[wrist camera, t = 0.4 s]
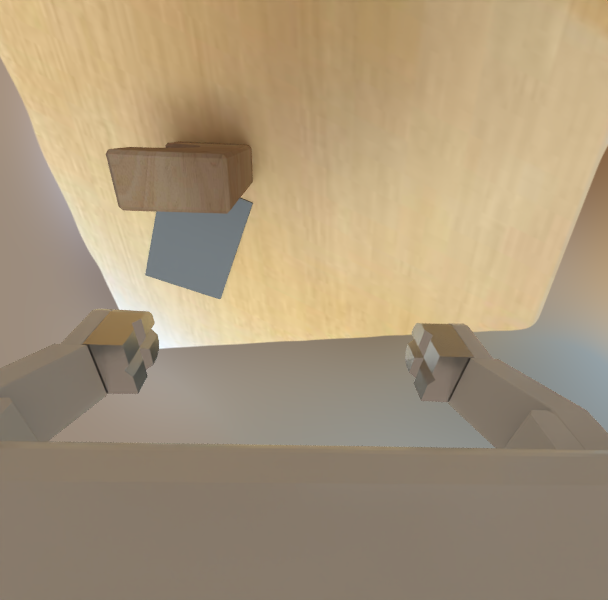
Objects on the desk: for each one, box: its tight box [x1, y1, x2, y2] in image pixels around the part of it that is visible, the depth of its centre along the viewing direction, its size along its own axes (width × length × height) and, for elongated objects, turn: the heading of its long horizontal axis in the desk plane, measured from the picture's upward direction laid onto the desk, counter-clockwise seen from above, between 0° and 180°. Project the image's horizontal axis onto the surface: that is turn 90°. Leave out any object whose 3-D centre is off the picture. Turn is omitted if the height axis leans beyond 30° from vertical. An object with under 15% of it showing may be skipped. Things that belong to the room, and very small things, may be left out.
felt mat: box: [145, 198, 253, 299], centre depth 54 cm, size 20×14×1 cm
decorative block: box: [106, 142, 252, 214], centre depth 38 cm, size 11×6×20 cm, turn 86°
